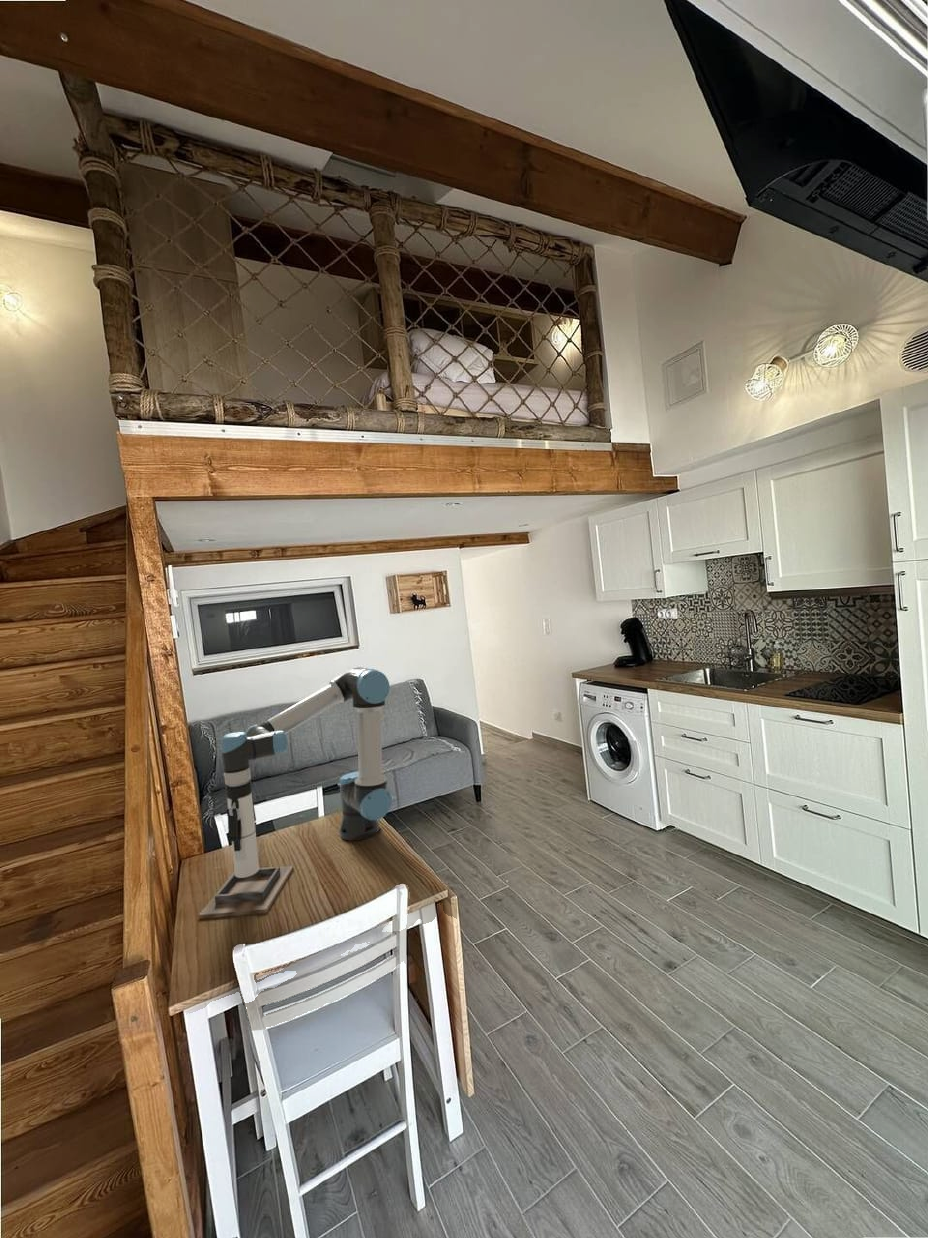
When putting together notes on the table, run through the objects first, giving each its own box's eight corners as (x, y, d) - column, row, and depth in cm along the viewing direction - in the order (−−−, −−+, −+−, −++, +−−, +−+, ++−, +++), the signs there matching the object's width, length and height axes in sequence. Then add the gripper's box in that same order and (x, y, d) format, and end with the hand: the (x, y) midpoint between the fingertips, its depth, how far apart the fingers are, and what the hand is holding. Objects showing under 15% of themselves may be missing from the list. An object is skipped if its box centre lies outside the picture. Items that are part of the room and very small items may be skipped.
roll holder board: (293, 869, 172) (292, 858, 172) (266, 913, 149) (265, 901, 148) (235, 874, 172) (234, 863, 172) (199, 919, 148) (197, 906, 148)
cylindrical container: (250, 878, 156) (242, 799, 155) (230, 877, 157) (221, 799, 156) (263, 866, 163) (256, 790, 162) (244, 865, 164) (236, 790, 163)
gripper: (240, 772, 169) (247, 839, 170) (210, 796, 149) (218, 871, 150) (262, 770, 169) (269, 837, 170) (235, 794, 149) (243, 869, 150)
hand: (245, 853), depth 160 cm, fingers closed on cylindrical container, 7 cm apart
